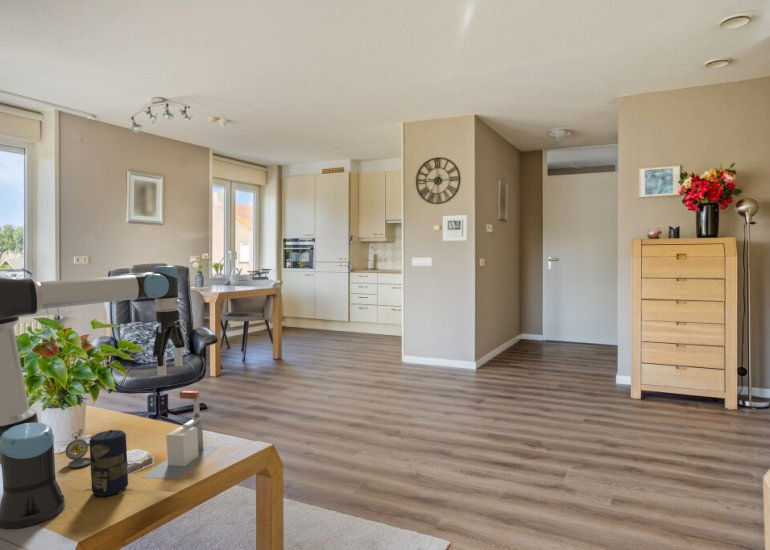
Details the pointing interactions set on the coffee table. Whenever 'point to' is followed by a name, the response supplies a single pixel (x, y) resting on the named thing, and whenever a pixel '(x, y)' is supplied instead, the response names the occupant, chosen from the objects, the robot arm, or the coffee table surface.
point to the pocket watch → (77, 458)
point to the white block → (182, 446)
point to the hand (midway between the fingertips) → (170, 370)
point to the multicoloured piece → (195, 397)
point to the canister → (108, 462)
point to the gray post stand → (176, 471)
